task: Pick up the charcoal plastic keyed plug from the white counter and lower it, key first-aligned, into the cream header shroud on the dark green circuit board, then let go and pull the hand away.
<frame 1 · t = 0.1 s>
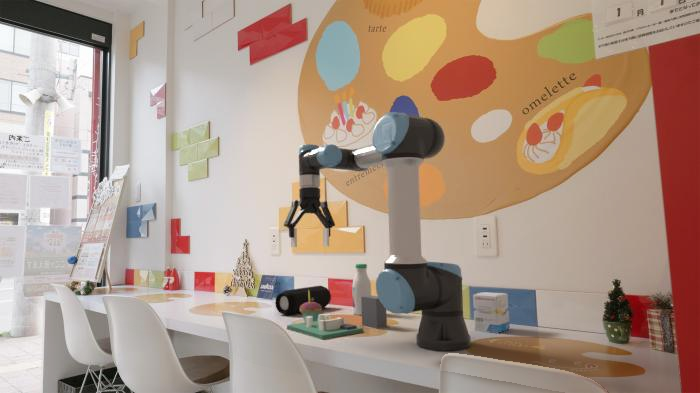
hand: (310, 246, 161), 28 cm above the table, fingers open, 13 cm apart
milk bottle: (362, 314, 183), on the table
ink box: (492, 330, 146), on the table
portable speaker: (304, 312, 192), on the table
board: (324, 330, 151), on the table
cupcake: (310, 321, 169), on the table
plug: (374, 326, 157), on the table
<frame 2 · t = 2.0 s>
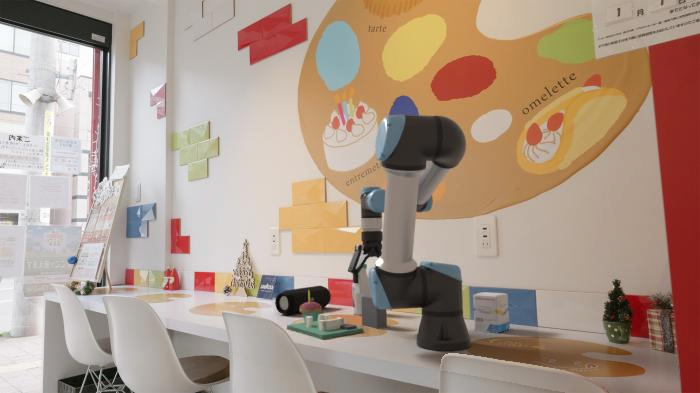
hand: (373, 291, 158), 12 cm above the table, fingers open, 13 cm apart
nothing on the table moved.
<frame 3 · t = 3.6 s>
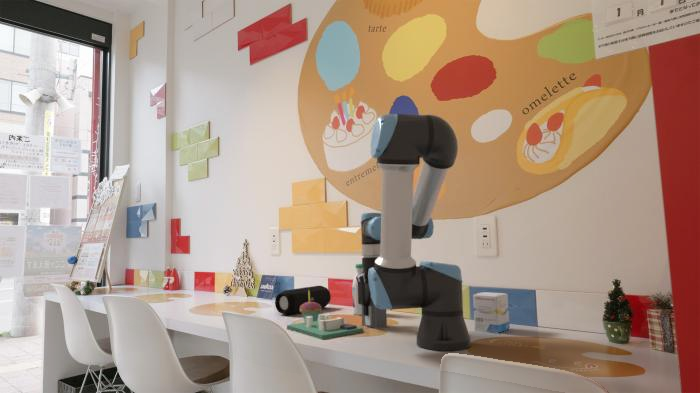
hand: (374, 323, 157), 1 cm above the table, fingers closed on plug, 4 cm apart
plug: (374, 326, 157), on the table, touching gripper
everything else where it was.
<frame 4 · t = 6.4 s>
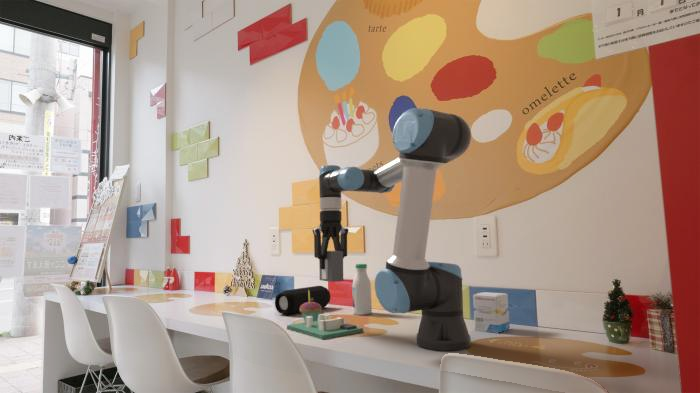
hand: (331, 278, 154), 17 cm above the table, fingers closed on plug, 4 cm apart
plug: (331, 280, 154), point 16 cm above the table, touching gripper
everything else where it was.
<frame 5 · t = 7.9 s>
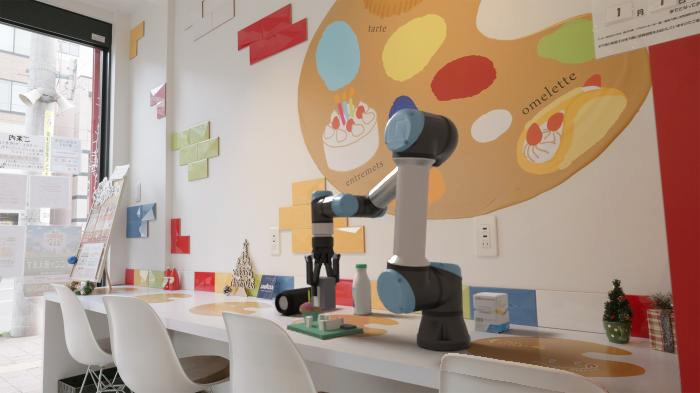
hand: (323, 305, 152), 8 cm above the table, fingers closed on plug, 4 cm apart
plug: (323, 307, 152), point 8 cm above the table, touching gripper
everything else where it was.
when the fingers open (3 cm above the table, at t = 9.2 s): plug drops 1 cm, resting on board.
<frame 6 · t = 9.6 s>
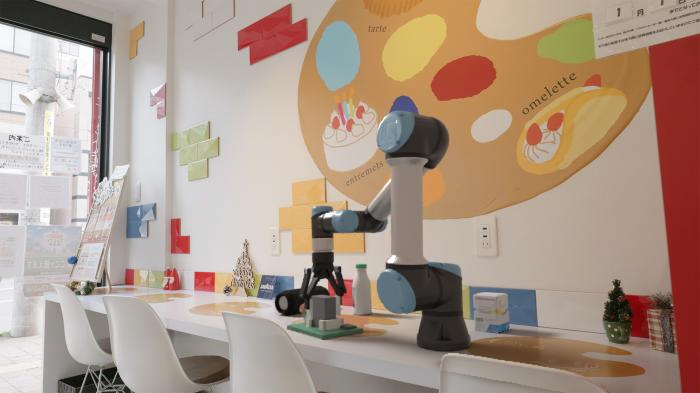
hand: (323, 317, 151), 4 cm above the table, fingers open, 10 cm apart
plug: (323, 326, 151), point 1 cm above the table, touching board
everything else where it was.
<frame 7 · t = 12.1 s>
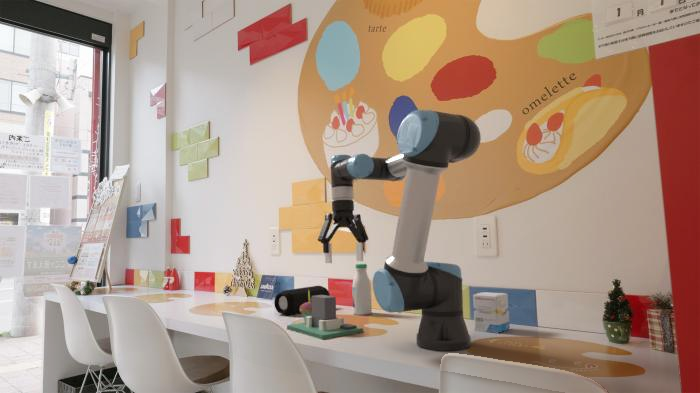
hand: (344, 262, 153), 22 cm above the table, fingers open, 13 cm apart
nothing on the table moved.
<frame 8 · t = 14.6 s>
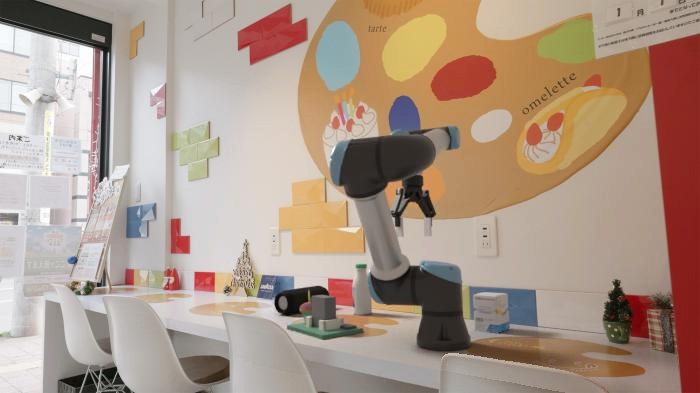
hand: (414, 236, 155), 31 cm above the table, fingers open, 13 cm apart
nothing on the table moved.
at the end: plug 0.1 cm off-centre on the board, point 1.2 cm above the board's base; plug tilted 0°; the gripper is holding nothing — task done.
